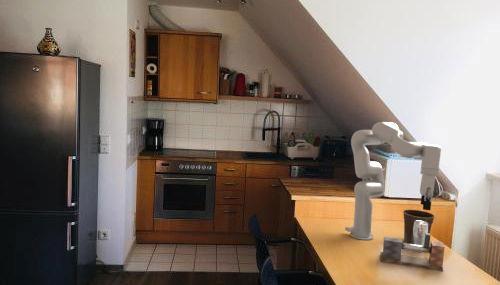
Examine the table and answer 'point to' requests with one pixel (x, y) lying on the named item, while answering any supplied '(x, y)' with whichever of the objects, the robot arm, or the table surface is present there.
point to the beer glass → (419, 232)
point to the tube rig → (394, 256)
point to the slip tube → (418, 247)
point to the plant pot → (409, 222)
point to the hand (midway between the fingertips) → (425, 207)
